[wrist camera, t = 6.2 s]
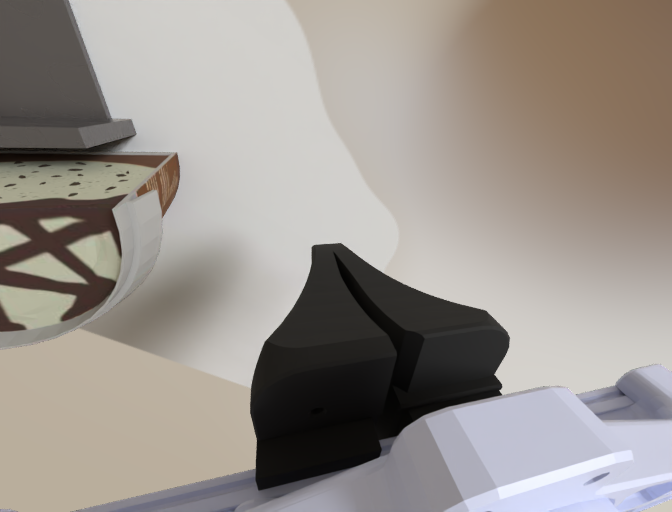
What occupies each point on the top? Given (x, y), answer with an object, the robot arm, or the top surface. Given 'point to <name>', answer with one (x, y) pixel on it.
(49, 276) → the food container
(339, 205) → the top surface
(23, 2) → the bookend
